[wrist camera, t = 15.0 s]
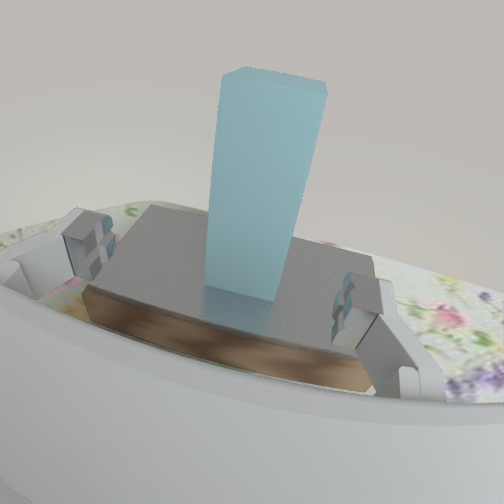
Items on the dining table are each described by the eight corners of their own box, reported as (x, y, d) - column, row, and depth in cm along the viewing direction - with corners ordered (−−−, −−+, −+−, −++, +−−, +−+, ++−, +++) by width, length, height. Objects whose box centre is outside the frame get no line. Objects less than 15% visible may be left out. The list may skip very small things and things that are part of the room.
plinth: (91, 320, 23) (78, 286, 20) (150, 234, 32) (148, 201, 29) (365, 392, 21) (389, 366, 19) (361, 284, 30) (375, 254, 28)
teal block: (204, 284, 22) (222, 75, 13) (222, 242, 26) (245, 66, 17) (273, 301, 22) (327, 94, 13) (282, 256, 26) (325, 82, 17)
